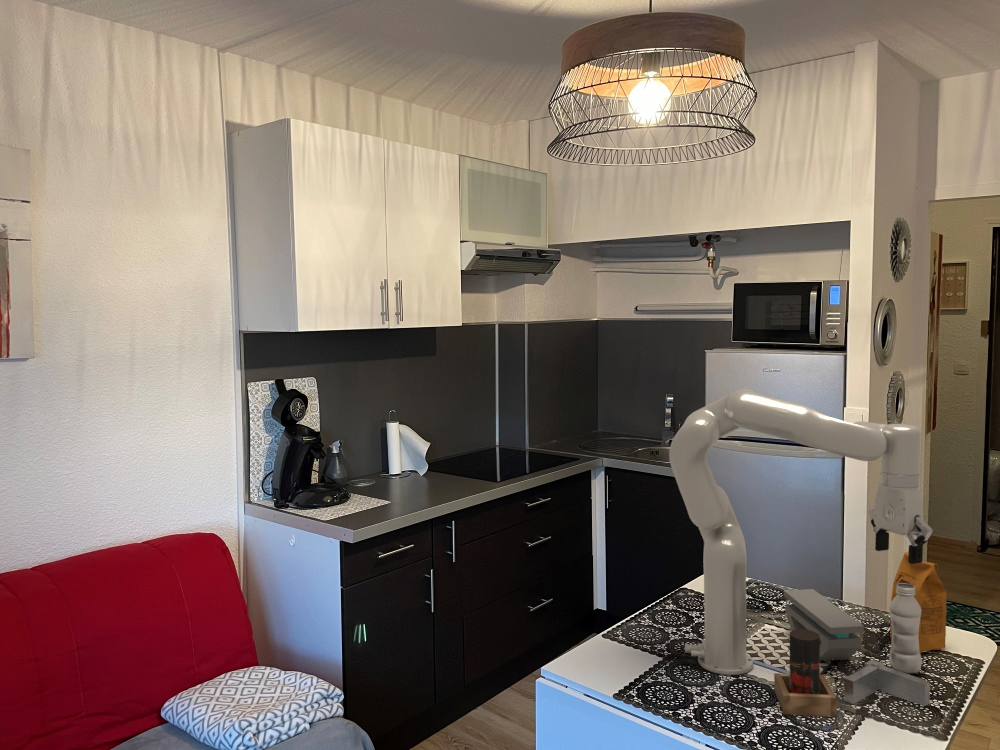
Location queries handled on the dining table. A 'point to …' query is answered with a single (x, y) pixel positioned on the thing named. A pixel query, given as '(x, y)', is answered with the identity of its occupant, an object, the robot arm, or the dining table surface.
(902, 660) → the plastic bottle
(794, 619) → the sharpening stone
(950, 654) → the dining table surface
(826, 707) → the block
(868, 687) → the v block
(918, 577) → the coffee package
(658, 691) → the dining table surface
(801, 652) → the deodorant
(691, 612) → the dining table surface
